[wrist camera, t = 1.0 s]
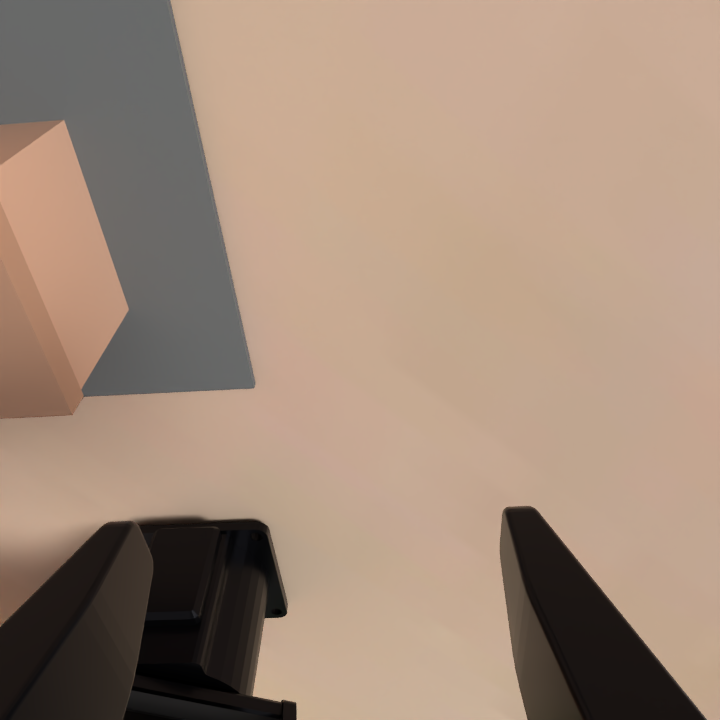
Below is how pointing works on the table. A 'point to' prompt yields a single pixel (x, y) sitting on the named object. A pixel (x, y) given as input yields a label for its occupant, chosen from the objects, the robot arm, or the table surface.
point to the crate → (50, 274)
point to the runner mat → (134, 183)
